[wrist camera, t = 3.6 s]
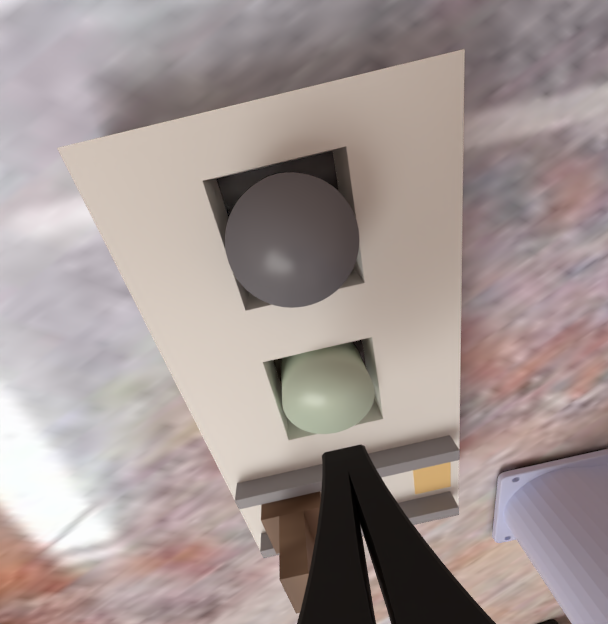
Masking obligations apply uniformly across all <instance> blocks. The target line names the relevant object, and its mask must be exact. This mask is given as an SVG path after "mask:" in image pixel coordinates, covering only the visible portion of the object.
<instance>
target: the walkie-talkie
mask: <svg viewBox="0 0 608 624" xmlns="http://www.w3.org/2000/svg"><path fill="white" fill-rule="evenodd" d="M541 624H558V623H557V622H556V621H555V620H550V621H547V622H544V623H541Z"/></svg>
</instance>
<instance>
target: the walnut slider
mask: <svg viewBox="0 0 608 624" xmlns="http://www.w3.org/2000/svg"><path fill="white" fill-rule="evenodd" d="M320 501H321V492H320V491H319V492H315V493H310V494H306V495H301V496H297V497H292V498H288V499H283V500H279V501H275V502H270V503H266V504H261V522H262V524H263V526H264V528H265V531H266V533H267V535H268V537H269V539H270V541H271V543H272V546H273V548H274V550H275V552H276V554H278V553H279V559H280V581H281V583H282V585H283V587H284V590H285V592H286V594H287V596H288V598H289V600H290V602H291V604H292V606H293V608H294V610H295V612H296V613H300V611H301V606H302V602H303V598H304V594H305V589H306V585H307V580H308V575H309V571H310V566H311V560H312V555H313V549H314V543H315V537H316V532H317V525H318V517H319V509H320Z"/></svg>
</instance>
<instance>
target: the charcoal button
mask: <svg viewBox="0 0 608 624" xmlns="http://www.w3.org/2000/svg"><path fill="white" fill-rule="evenodd" d="M225 249H226V255H227V259H228V262H229V265H230V267H231V270H232V271H233V273H234V275H235V277H236V278H237V280H238V281H239V282H240V284H241V285H242V286H243V287H244V288H245V289H246V290H247V291H248V292H250V293H251V294H252V295H253V296H255V297H257V298H258V299H260V300H262V301H264V302H266V303H269V304H272V305H275V306H280V307H289V308H295V307H304V306H309V305H312V304H315V303H318V302H320V301H322V300H324V299H326V298H327V297H329V296H330V295H332V294H333V293H334V292H336V291H337V290H338V289H339V288H340V287H341V286H342V285H343V283H344V282H345V281H346V280H347V278H348V277H349V275H350V274H351V272H352V270H353V267H354V265H355V262H356V259H357V256H358V251H359V229H358V224H357V220H356V218H355V215H354V212H353V210H352V208H351V206H350V205H349V203H348V202H347V200H346V199H345V198H344V197H343V195H342V194H341V193H340V192H339V191H338V190H337V189H335V188H334V187H333V186H332V185H330V184H329V183H327V182H325V181H324V180H322V179H319V178H317V177H315V176H311V175H308V174H302V173H294V172H284V173H277V174H274V175H271V176H268V177H266V178H264V179H262V180H260V181H259V182H257V183H256V184H254V185H253V186H252V187H250V188H249V189H248V190H247V191H246V192H245V193H244V194H243V195H242V196H241V197H240V198H239V200H238V201H237V203H236V204H235V206H234V207H233V209H232V211H231V214H230V216H229V219H228V222H227V226H226V232H225Z"/></svg>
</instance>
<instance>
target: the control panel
mask: <svg viewBox="0 0 608 624" xmlns="http://www.w3.org/2000/svg"><path fill="white" fill-rule="evenodd" d="M464 58H465V49H462V50H458V51H454V52H450V53H446V54H442V55H438V56H433V57H429V58H425V59H421V60H417V61H413V62H409V63H405V64H401V65H396V66H392V67H388V68H384V69H380V70H376V71H372V72H368V73H364V74H359V75H355V76H351V77H347V78H343V79H339V80H335V81H331V82H327V83H322V84H318V85H314V86H310V87H306V88H302V89H298V90H294V91H290V92H285V93H281V94H277V95H273V96H269V97H265V98H261V99H257V100H253V101H248V102H244V103H240V104H236V105H232V106H228V107H224V108H220V109H216V110H211V111H207V112H203V113H199V114H195V115H191V116H187V117H183V118H179V119H174V120H170V121H166V122H162V123H158V124H154V125H150V126H146V127H142V128H137V129H133V130H129V131H125V132H121V133H117V134H113V135H109V136H105V137H100V138H96V139H92V140H88V141H84V142H80V143H76V144H72V145H68V146H63V147H59V148H57V149H58V151H59V153H60V155H61V157H62V159H63V160H64V162H65V164H66V166H67V168H68V170H69V172H70V174H71V176H72V178H73V180H74V182H75V184H76V186H77V188H78V190H79V192H80V194H81V196H82V198H83V200H84V202H85V204H86V206H87V208H88V210H89V212H90V214H91V216H92V218H93V220H94V222H95V224H96V226H97V228H98V230H99V232H100V234H101V236H102V238H103V240H104V242H105V244H106V246H107V248H108V250H109V252H110V254H111V256H112V258H113V260H114V262H115V264H116V266H117V268H118V270H119V272H120V274H121V276H122V278H123V280H124V281H125V283H126V285H127V287H128V289H129V291H130V293H131V295H132V297H133V299H134V301H135V303H136V305H137V307H138V309H139V311H140V313H141V315H142V317H143V319H144V321H145V323H146V325H147V327H148V329H149V331H150V333H151V335H152V337H153V339H154V341H155V343H156V345H157V347H158V349H159V351H160V353H161V355H162V357H163V359H164V361H165V363H166V365H167V367H168V369H169V371H170V373H171V375H172V377H173V379H174V381H175V383H176V385H177V387H178V389H179V391H180V393H181V395H182V397H183V399H184V401H185V403H186V404H187V406H188V408H189V410H190V412H191V414H192V416H193V418H194V420H195V422H196V424H197V426H198V428H199V430H200V432H201V434H202V436H203V438H204V440H205V442H206V444H207V446H208V448H209V450H210V452H211V454H212V456H213V458H214V460H215V462H216V464H217V466H218V468H219V470H220V472H221V474H222V476H223V478H224V480H225V482H226V484H227V486H228V488H229V490H230V492H231V494H232V496H233V498H234V500H235V502H236V504H237V506H238V508H239V510H240V512H241V514H242V516H243V518H244V520H245V522H246V524H247V525H248V527H249V529H250V531H251V533H252V535H253V537H254V539H255V541H256V543H257V545H258V547H259V549H260V552H261V554H262V556H263V558H267V557H271V556H276V555H279V553H278V554H276V552H275V550H274V548H273V546H272V543H271V541H270V539H269V537H268V535H267V533H266V531H265V528H264V526H263V524H262V522H261V504H266V503H270V502H275V501H279V500H283V499H288V498H292V497H297V496H301V495H306V494H310V493H315V492H319V491H320V492H321V489H322V455H323V454H324V453H325V452H329V451H333V450H338V449H342V448H347V447H351V446H356V445H360V444H361V445H363V446H365V448H366V450H367V453H368V455H369V457H370V459H371V461H372V462H373V464H374V466H375V468H376V470H377V471H378V473H379V475H380V476H381V478H382V480H383V481H384V483H385V485H386V486H387V488H388V489H389V491H390V492H391V494H392V495H393V497H394V498H395V500H396V501H397V503H398V504H399V506H400V507H401V509H402V510H403V511H404V513H405V514H406V516H407V517H408V519H409V520H410V521H411V523H412V524H413V525H415V524H420V523H424V522H429V521H433V520H438V519H442V518H447V517H451V516H456V515H459V458H460V450H459V436H460V361H461V285H462V209H463V133H464ZM330 151H333V157H334V163H335V170H336V176H337V183H338V189H339V192H340V193H341V194H342V195H343V197H344V198H345V199H346V200H347V202H348V203H349V205H350V206H351V208H352V210H353V212H354V215H355V218H356V220H357V224H358V229H359V251H358V256H357V259H356V262H355V265H354V267H353V270H352V272H351V274H350V275H349V277H348V278H347V280H346V281H345V282H344V283H343V285H342V286H341V287H340V288H339V289H338V290H337V291H336V292H334V293H333V294H332V295H330V296H329V297H327V298H326V299H324V300H322V301H320V302H318V303H315V304H312V305H309V306H304V307H295V308H289V307H280V306H275V305H272V304H269V303H266V302H264V301H262V300H260V299H258V298H257V297H255V296H253V295H252V294H251V293H250V292H248V291H247V290H246V289H245V288H244V287H243V286H242V285H241V284H240V282H239V281H238V280H237V278H236V277H235V275H234V273H233V271H232V270H231V267H230V265H229V262H228V259H227V255H226V249H225V232H226V226H227V222H228V219H229V218H228V215H227V211H226V208H225V205H224V202H223V199H222V195H221V192H220V189H219V186H218V183H217V179H218V178H222V177H226V176H230V175H234V174H239V173H243V172H247V171H251V170H255V169H259V168H264V167H268V166H272V165H276V164H280V163H284V162H289V161H293V160H297V159H301V158H305V157H309V156H314V155H318V154H322V153H326V152H330ZM361 339H362V345H363V352H364V358H365V365H366V369H367V371H368V373H369V375H370V378H371V380H372V382H373V385H374V389H375V397H374V402H373V405H372V407H371V409H370V411H369V412H368V413H367V415H366V416H365V417H364V418H363V419H362V420H361V421H360V422H358V423H357V424H356V425H354V426H352V427H350V428H348V429H346V430H344V431H341V432H337V433H331V434H316V433H311V432H307V431H304V430H302V429H300V428H298V427H297V426H295V425H294V424H293V423H292V422H291V421H290V420H289V419H288V418H287V416H286V415H285V412H284V410H283V406H282V387H281V383H280V380H279V377H278V374H277V371H276V368H275V364H274V361H273V360H275V359H279V358H283V357H288V356H292V355H296V354H301V353H305V352H309V351H314V350H318V349H322V348H327V347H331V346H335V345H340V344H344V343H348V342H353V341H357V340H361ZM360 526H361V525H360ZM361 533H362V536H364V534H363V531H362V528H361Z"/></svg>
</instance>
